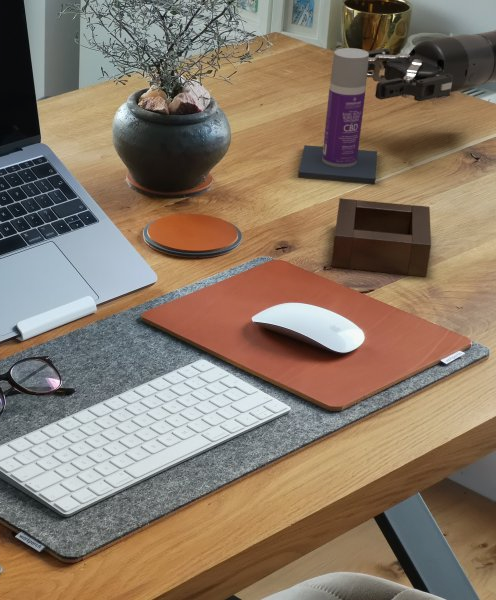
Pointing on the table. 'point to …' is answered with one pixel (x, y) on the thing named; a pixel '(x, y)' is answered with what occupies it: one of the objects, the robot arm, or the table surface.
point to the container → (345, 107)
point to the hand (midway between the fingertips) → (356, 81)
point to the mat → (319, 170)
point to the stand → (382, 237)
